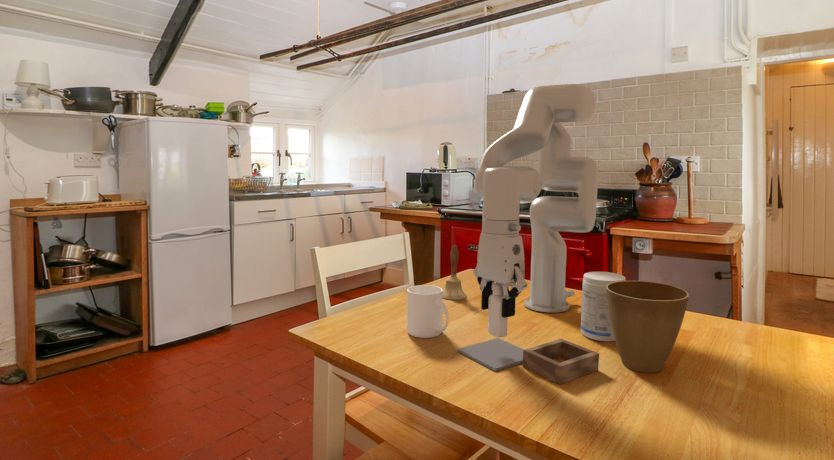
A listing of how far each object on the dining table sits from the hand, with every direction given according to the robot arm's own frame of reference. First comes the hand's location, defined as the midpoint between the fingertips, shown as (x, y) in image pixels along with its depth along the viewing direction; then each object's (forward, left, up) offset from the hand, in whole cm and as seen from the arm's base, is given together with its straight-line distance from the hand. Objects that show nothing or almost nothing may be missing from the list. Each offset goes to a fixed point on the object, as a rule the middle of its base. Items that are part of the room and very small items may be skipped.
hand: (497, 311), depth 100 cm
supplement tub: (-29, +5, -10) cm, 31 cm away
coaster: (0, 0, -10) cm, 10 cm away
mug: (+5, -18, -10) cm, 21 cm away
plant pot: (-21, +20, -10) cm, 31 cm away
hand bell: (-20, -41, -10) cm, 47 cm away
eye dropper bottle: (0, 0, -5) cm, 5 cm away
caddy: (-6, +12, -10) cm, 16 cm away
